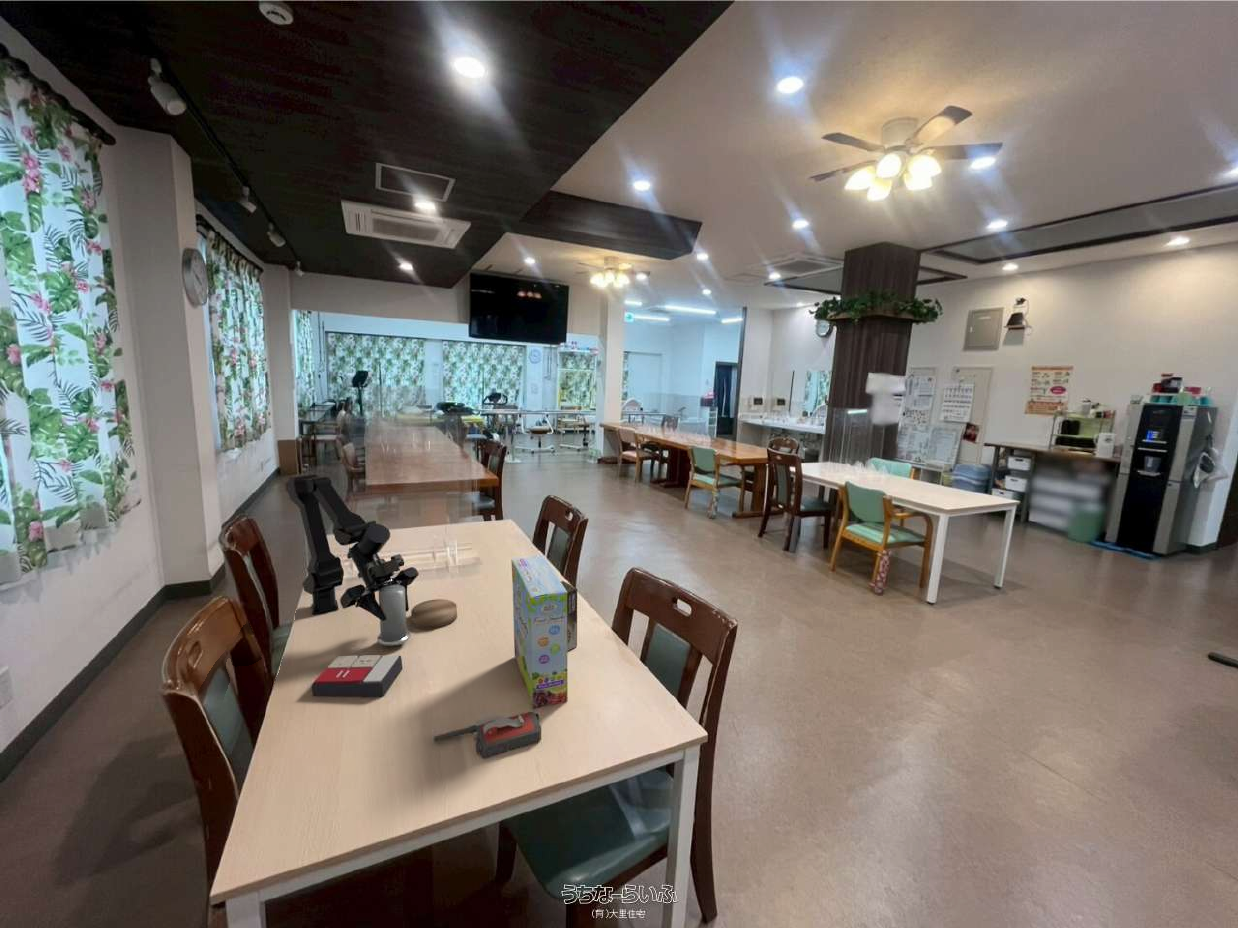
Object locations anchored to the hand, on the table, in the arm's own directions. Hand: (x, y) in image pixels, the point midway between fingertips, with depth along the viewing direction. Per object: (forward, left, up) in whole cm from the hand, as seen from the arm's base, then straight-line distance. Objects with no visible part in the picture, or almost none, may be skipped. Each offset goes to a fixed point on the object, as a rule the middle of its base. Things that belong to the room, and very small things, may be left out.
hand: (396, 615), depth 129 cm
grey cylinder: (-1, -1, -7) cm, 7 cm away
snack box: (+30, +25, -8) cm, 40 cm away
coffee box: (+21, +34, -8) cm, 41 cm away
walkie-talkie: (+44, +9, -9) cm, 46 cm away
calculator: (+12, -10, -9) cm, 18 cm away
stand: (-10, +11, -8) cm, 17 cm away
